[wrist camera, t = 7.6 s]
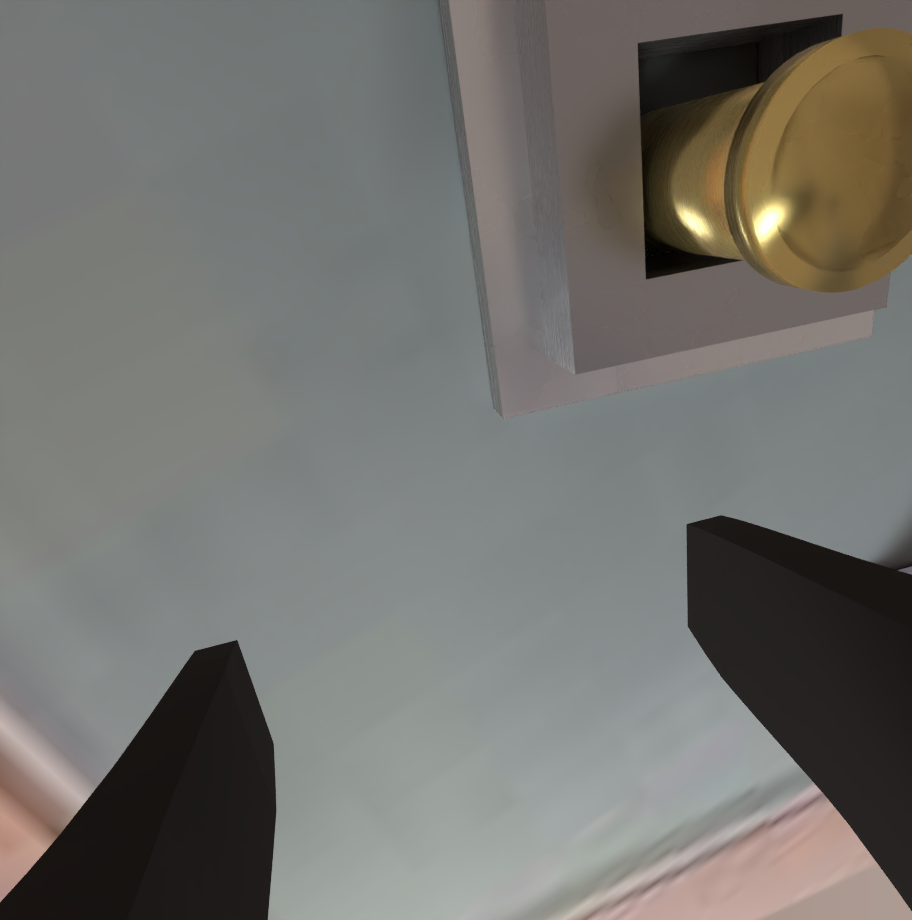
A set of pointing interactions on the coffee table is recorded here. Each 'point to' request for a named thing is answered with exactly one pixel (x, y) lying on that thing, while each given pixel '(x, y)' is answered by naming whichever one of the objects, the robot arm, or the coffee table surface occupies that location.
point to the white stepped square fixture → (615, 196)
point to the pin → (792, 167)
